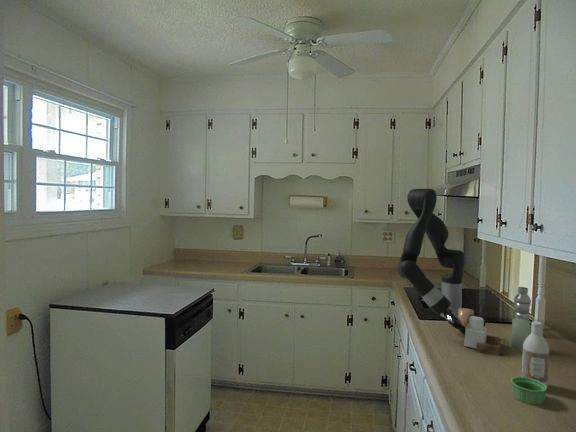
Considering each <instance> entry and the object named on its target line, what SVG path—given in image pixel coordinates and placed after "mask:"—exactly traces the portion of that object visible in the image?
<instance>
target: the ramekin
mask: <svg viewBox="0 0 576 432" xmlns="http://www.w3.org/2000/svg"><path fill="white" fill-rule="evenodd" d="M510 379H511V380H510V382H511V393H512V396H513V397H514V398H515V399H516V400H518V401H520V402H522V403H524V404H527V405H535V406H536V405H537V406H538V405H542V404H544V403H545V398H546V393H547V391H548V386H547V387H546V386H545V385H544V384H543V383H541V382H540V381H537V380H535V379H531V378H526V377H522V376H514V377H512V378H510Z"/></svg>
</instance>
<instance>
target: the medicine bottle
mask: <svg viewBox="0 0 576 432" xmlns="http://www.w3.org/2000/svg"><path fill="white" fill-rule="evenodd" d="M486 322H487V318H486V317H484V316H483V315H479V314H474V315H470V316H469V321H468V325H467V327H466V328H465V336H464V339H463V346H464V347H468V348H472V349H476V350H477V343H480V344H487V343H486V337H487V335H488V328H487V327H486Z"/></svg>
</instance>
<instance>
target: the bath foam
mask: <svg viewBox="0 0 576 432" xmlns="http://www.w3.org/2000/svg"><path fill="white" fill-rule="evenodd" d="M543 327H544V324H543V322H540V321H535V320H534V321H531V324H530V331H531V332H530V334H529V336H528V337H527V338H526V339H525V341H524V344H523V351H522V358H521V359H522V360H521V362H522V363H521V377H526V378H531V379H535V380H537V381H540V382H541V383H543V384H544V385H545V386H546V387H547V388H548V382H549V367H550V365H549V362H550V348H549V344H548V342H547V340H546V339H545V338H544V337H545V336H544V335H543Z"/></svg>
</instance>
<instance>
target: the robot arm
mask: <svg viewBox="0 0 576 432" xmlns="http://www.w3.org/2000/svg"><path fill="white" fill-rule="evenodd" d="M437 197H438V196H437V192H436V191H435V190H434V189H433V188H412V189H410V190H409V191H408V192H407V197H406V198H407V200H406V201H407V204H408V206H409V208H410V210H411V212H413V213H414V215H415V217H416V218H417V221H416V222H415V223H414V224H413V225H412V226H411V228H410V229H409V230H408V232H407V234H406V235H405V240H404V242H403V244H404V245H403V248H402V249H403V250H402V254H401V257H400V259H399V263H398V267H397V273H398V275H399V276H400V277H402V278H403V279H407V280H408V281H409V282H410V283H411V285H412V287H413V289H414V291H415V292H416V293H417V294H418V295H419V296H420V297H421V298H422V301H424V303H426V305H427V306H428V307H429V308H430V309H431V310H432V311H433V313H434V314H436V315H437V316H439V315H440V317H442V318H444V319H445V320H446V321H447V322H448V324H450V325H451V326H452V327H453V328H454V329H456V330H458V329H459V330H460V331H461V332H462V333H463V334H464V336H465V327H464V325H463V323H462V322H461V320H460V319H459V317H458V309H459V308H463V307H462V304H463V303H462V302H463V299H462V298H463V297H462V293H463V292H462V291H463V290H462V288H463V277H464V269H465V268H464V267H465V254H464V252H463V251H462V250H459V249H451V248H447V247H446V246H445V244H446V243H447V240H448V237H449V230H448V229H447V225H446V224H445V222H444V221H443V220H442V218H440V217H439V216H438V215H436V214H435V213H434V210H435V208H436V205H437V200H438V199H437ZM425 235H426V237H427V238H428V240H429V241H430V243H431V245H432V248H433V250H434V252H435V255H436V258H437V260H438V262H439V264H440V266H441V267H443V268H448V269H452V272H451V273H447V274H443V275H442V276H441V290H440V289H439V288H437V287H436V286H435V285H434V283H432V282H431V281H430V279H429V278H428V277H427V276H426V274H425V273H424V272H423V270H422V269H421V268H420V266H419V265H418V264H417V261H418V259H419V255H420V254H421V252H422V251H421V250H422V246H423V242H424V237H425Z"/></svg>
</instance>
